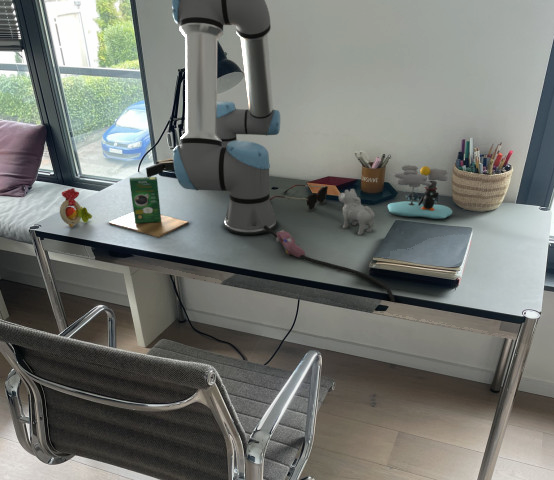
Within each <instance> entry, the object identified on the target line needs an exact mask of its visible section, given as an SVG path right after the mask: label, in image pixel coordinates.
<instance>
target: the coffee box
mask: <svg viewBox="0 0 554 480" xmlns="http://www.w3.org/2000/svg"><path fill="white" fill-rule="evenodd" d="M158 185H159V184H158V178H157V176H151V177H147V176H144V177H143V176H142V177H141V176H140V177H129V186H130V197H131V203H132V209H133V211H132V212H134V218H135V224H136V223H152V222H154V223H156V222H161V215H162V214H161V204H160V203H161V202H160V195H159V186H158Z"/></svg>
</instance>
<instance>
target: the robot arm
mask: <svg viewBox="0 0 554 480" xmlns="http://www.w3.org/2000/svg"><path fill="white" fill-rule="evenodd" d="M171 8H172V17H173V20H174V23H175V24H176V25H178V26H179V32H181V34H182V35H183V36H184V38H185V39H184V40H185V41H184V43H185V44H184V45H185V47H184V49H185V50H184V51H185V132H184V133H183V134H182V136H181V137H180V138H179V145H176V146H175V147H174V148H173V154H172V158H166V159H159V160H155V164H153V165H151V166H148V167H145V172H146V177H155V176H157V175H159V174H163V173H164V172H166V171H174V174H175V176H176V180H177V182H178V184H179V185H180V186H181V187H182V188H183V189H185V190H194V191H219V192H221V191H222V192H223V191H224V192H228V193H229V203H228V206H227V209H226V213H225V216H224V228H225V229H226V230H227V231H228V232H230V233H233V234H236V235H241V236H257V235H263V234H266V233H269V234H271V235H272V236H273V237H274V238H275V239H276V238H277V235H276V233H277V232H275V231H274V230H275V228H276V226H277V218H276V215H275V213H274V210H273V206H272V203H271V200H270V199H271V198H270V168H271V164H270V154H269V151H268V149H267V148H266V147H265V146H264V145H262V144H260V143H257V142H253V141H249V140H248V141H247V140H238V139H237V135H250V136H251V135H253V136H255V135H256V136H265V137H266V136H267V137H268V136H277V135H278V134H279V133H280V129H281V113H280V110H278V109H274V105H273V104H274V103H273V93H272V92H273V91H272V78H271V77H272V76H271V64H270V51H269V37H268V36H269V35H268V34H269V33H270V32H271V29H272V28H271V16H270V11H269V8H268V6H267V2H266V0H171ZM224 26H235V32H236V34H237V36H238V37H240V43H241V50H242V59H243V60H242V62H243V68H244V76H245V78H244V79H245V84H246V85H245V86H246V93H247V101H248V109H245V108H244V109H242V108H241V109H239V108H237V107H236V104H235V103H234V102H233V101H227V100H226V101H225V100H224V101H223V100H222V101H218V41H219V39H220V38H221V37H222V36H223V35H224ZM299 259H302V260H305V261H308V262H310V263H312V264H317V265H321V266H324V267H328V268H331V269H335V270H338V271H343V272H347V273H350V274H353V275H356V276H359V277H361V278H365V279H366V280H369V281H370V282H372V283H375V284H376V285H378V286H379V287H381V288H382V289H384V290H385V291H386V293H387V294H388V297H389V300H390V301H391V302H396V299H395V296H394V294H393V292H392V290H391V288H390V287H389V286H388V285H387V284H385V283H383V282H381V281H380V280H378V279H377V278H376V277H373V276H372V275H369V274H367V273H365V272H361V271H359V270H356V269H353V268H349V267H346V266H342V265H338V264H334V263H330V262H327V261H323V260H319V259H317V258H316V259H315V258H312V257H310V256H307V255H305V256H304V255H301V256H300V258H299Z"/></svg>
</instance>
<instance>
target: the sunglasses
mask: <svg viewBox="0 0 554 480" xmlns="http://www.w3.org/2000/svg"><path fill="white" fill-rule="evenodd" d="M294 187H310V188H311V187H312V188H319V190H318V191H317V193H310V194H309V195H307V196H306V197H292V196H283V195H273V196H272V197H271V198H270V201H271V200H273V199H275V198H283V199H293V200H302V201H306V206H307V208H308V210H309V211H313V210H314V209H315V207H316V204H317V203H318V202H319V204H320V205H322V204H324V203H325V201H326V198H327V195H328V189H329V186H327V185H325V186H323V185H322V186H321V185H319V186H318V185H309V184H294V185H292V186H291V187H289V188H287V189H286V190H285V191H283V194H286V193H288V191H290V190H291V189H293V188H294Z"/></svg>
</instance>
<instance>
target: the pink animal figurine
mask: <svg viewBox="0 0 554 480" xmlns="http://www.w3.org/2000/svg"><path fill="white" fill-rule="evenodd" d="M275 233H276V235H277V238H276V237H275V240H276V242H277V243H280V244H281V245H282V247H283V248H284V250H285V254H288V255H289V256H291V255H292V256H293V257H295V258H299V259H301V258H300V256H301V255H304V256H306V252H305V250H304V249H303V248H301V247H300V246H298V245H297V243H296V240H295V238H294V237H292V235H291V233H290V232H289V231H286V230H284V229H282V230H279V231H277V232H275Z"/></svg>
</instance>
